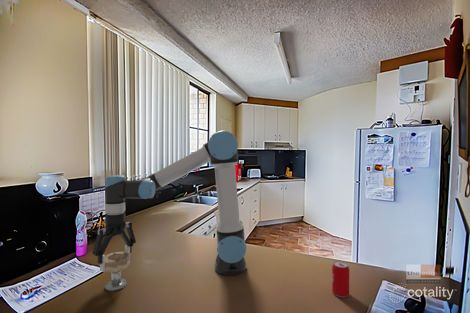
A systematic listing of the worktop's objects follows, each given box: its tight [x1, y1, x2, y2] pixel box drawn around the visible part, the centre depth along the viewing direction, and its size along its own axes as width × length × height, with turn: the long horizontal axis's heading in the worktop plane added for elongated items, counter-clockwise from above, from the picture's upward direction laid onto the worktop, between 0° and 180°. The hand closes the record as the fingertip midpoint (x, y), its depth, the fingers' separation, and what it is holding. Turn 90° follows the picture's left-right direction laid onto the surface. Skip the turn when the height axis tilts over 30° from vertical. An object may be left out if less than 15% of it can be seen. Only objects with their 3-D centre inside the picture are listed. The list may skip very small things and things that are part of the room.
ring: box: [104, 251, 131, 273], centre depth 102 cm, size 10×10×4 cm
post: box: [104, 270, 128, 292], centre depth 102 cm, size 8×8×7 cm
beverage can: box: [331, 260, 350, 299], centre depth 96 cm, size 6×6×12 cm
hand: (115, 265), depth 102 cm, fingers closed on ring, 10 cm apart
